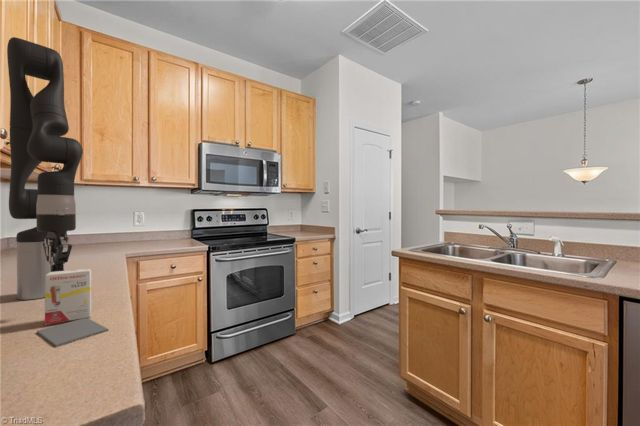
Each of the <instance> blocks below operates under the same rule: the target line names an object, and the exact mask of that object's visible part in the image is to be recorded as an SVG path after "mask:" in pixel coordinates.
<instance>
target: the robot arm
mask: <svg viewBox="0 0 640 426" xmlns="http://www.w3.org/2000/svg"><path fill="white" fill-rule="evenodd" d="M6 52H7V53H6V54H7V69H8V70H7V71H8V78H9V79H8V81H9V91H10V92H9V93H10V100H9V101H10V102H9V103H10V105H9V106H10V107H9V108H10V109H9V146H10V147H9V149H10V176H9V177H10V179H9V180H10V181H9V192H8V193H9V195H8V211H9V215H10V216H11V218H12V219H15V220H36V226H35V227H33V228H29V229H25V230H22V231H19V232H17V233H16V237H15V239H16V242H15V243H16V298H17V300H20V301H21V300H23V301H24V300H25V301H26V300H35V299H43V298H45V275H47V274H48V273H50V272H56V271H65V270H64V265H65V264H66V263H68V261H69V258H70V254H71V251H72V249H73V245H72V244H71V243H70V238H69V237H68V233H67V232H71V231H75V230H76V228H77V224H76V223H77V217H76V215H77V210H76V206H77V205H76V200H75V199H76V198H75V179H76V174H77V171H78V168H79V165H80V163H81V160H82V157H83V153H84V149H83V145H82V144H81V143H80V142H79V141H78V140H77V139H75V138H72V137H65V135H67V134H68V132H69V130H70V128H69V122H68V117H67V113H66V107H65V76H64V75H65V74H64V64H63V59H62V57H61V54H60V53H59V52H58V51H57V50H55V49H53V48H51V47H47V46H44V45H41V44H39V43H35V42H32V41H29V40H26V39H22V38H20V37H15V36H13V37H10V38H9V39H8V42H7V48H6ZM26 76H28V77H31V78H36V79H40V80H45V81H48V84H47V85H46V86H45V87H43V88H42V89H41V90H40V91H38V92H37V93H36V94H35V95H33V94H32V92H31V90H30V88H29V85H28V82H27V78H26ZM41 163H51V164H60V165H61V164H63V167H62V168H61V169H60V170H57V171H56V170H53V171H44V172H40V173H39V174H38V175H37V189H35V188H25V187H26V184H27V181H28V179H29V178H30V176H31V175H32V173H33V172H34V171H35V170H36V168H37V167H38V166H39V165H40V164H41Z"/></svg>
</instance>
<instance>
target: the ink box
mask: <svg viewBox="0 0 640 426" xmlns="http://www.w3.org/2000/svg"><path fill="white" fill-rule="evenodd" d="M90 317H92V268H80V269H79V268H77V269H71V270H70V269H67V270H64V271H56V272H50V273H48V274H47V275H45V297H44V325H46V326H49V325H53V324H59V323H63V322H65V323H66V322H71V321H76V320H79V319H83V318H90Z"/></svg>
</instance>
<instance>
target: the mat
mask: <svg viewBox="0 0 640 426" xmlns="http://www.w3.org/2000/svg"><path fill="white" fill-rule="evenodd" d="M105 331H106V332H108V331H109V328H107V327H105V326H104V325H102V324H100V323H97V322H96V321H94V320H92V319H90V318H89V317H87V318H82V319H76V320H71V321H67V322H65V323H62V324H58V325H53V326H49V327H46V328H42V329H39V330H36V333H37V334H38V335H40V336H41V337H42V338H43V339H45V340H47V341H48V342H49V343H50V344H52V345H53V346H55V348H57V347H60V346H63V345H67V344H69V343H73V342H76V340H77V341H79V339H80V340H83V339H86V338H90V337H93V336H95V335H98V334H99V335H100V334H102V333H105ZM92 335H93V336H92ZM89 336H90V337H89ZM85 337H86V338H85ZM72 341H73V342H72Z"/></svg>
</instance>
